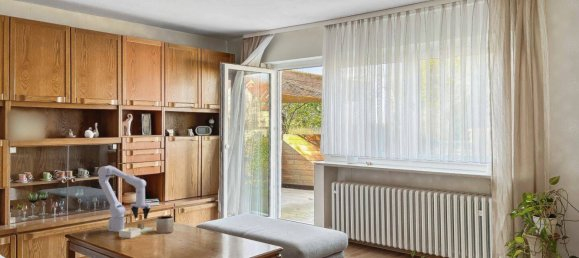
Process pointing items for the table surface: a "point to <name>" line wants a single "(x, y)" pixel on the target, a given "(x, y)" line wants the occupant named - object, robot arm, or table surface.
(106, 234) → the table surface
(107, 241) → the table surface
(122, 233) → the beige bevelled block
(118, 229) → the robot arm
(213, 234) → the table surface
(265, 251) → the table surface
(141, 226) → the lid
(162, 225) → the planter
